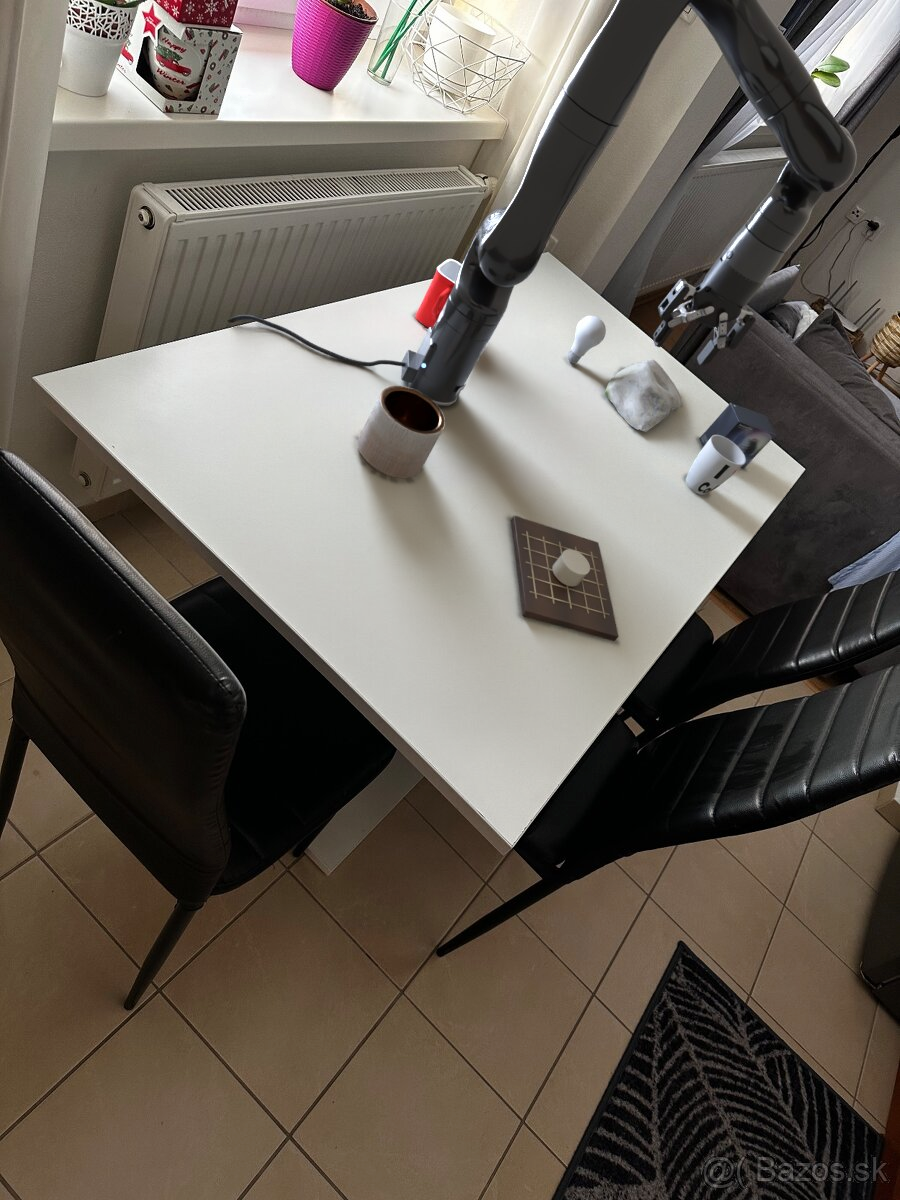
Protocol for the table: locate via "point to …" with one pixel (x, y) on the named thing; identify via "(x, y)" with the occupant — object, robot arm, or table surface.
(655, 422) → the stone
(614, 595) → the table surface
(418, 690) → the table surface
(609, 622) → the board
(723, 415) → the small box
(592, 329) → the lightbulb
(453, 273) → the mug
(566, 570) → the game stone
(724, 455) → the cup
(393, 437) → the planter
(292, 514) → the table surface
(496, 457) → the table surface
